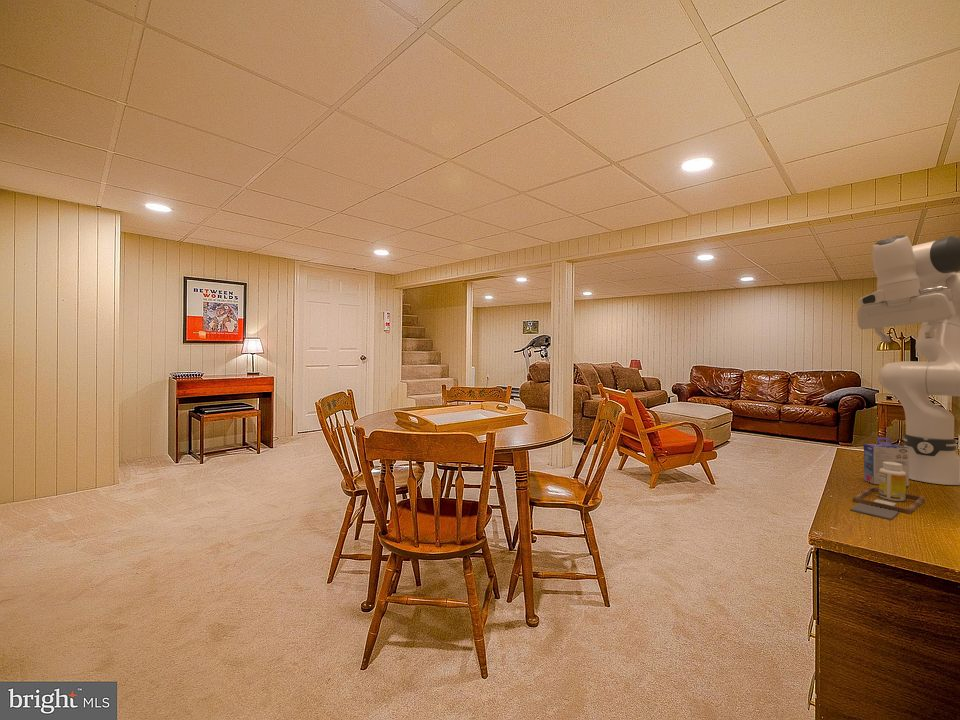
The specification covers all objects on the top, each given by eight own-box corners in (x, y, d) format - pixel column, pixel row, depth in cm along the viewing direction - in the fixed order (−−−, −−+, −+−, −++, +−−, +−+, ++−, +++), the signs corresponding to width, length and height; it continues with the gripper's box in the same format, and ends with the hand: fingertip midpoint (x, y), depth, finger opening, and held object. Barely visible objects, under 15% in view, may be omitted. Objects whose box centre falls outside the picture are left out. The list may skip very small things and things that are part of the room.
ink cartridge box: (897, 481, 140) (898, 437, 140) (910, 486, 135) (911, 440, 135) (861, 479, 142) (862, 435, 142) (873, 484, 137) (874, 439, 137)
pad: (859, 504, 119) (859, 502, 119) (898, 513, 112) (899, 511, 112) (850, 510, 114) (850, 508, 114) (891, 520, 108) (891, 518, 108)
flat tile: (876, 502, 122) (876, 499, 122) (896, 506, 119) (896, 503, 119) (872, 505, 119) (872, 501, 119) (892, 509, 116) (892, 506, 116)
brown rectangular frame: (870, 489, 131) (870, 486, 131) (924, 500, 122) (924, 497, 122) (852, 501, 121) (852, 497, 121) (910, 514, 112) (910, 510, 112)
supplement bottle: (909, 500, 122) (910, 464, 122) (899, 503, 120) (900, 466, 120) (884, 494, 127) (885, 459, 127) (874, 497, 125) (875, 461, 125)
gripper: (954, 283, 117) (963, 333, 117) (860, 299, 135) (868, 343, 135) (946, 285, 114) (955, 336, 114) (851, 300, 132) (859, 345, 132)
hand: (907, 340), depth 124 cm, fingers open, 8 cm apart
